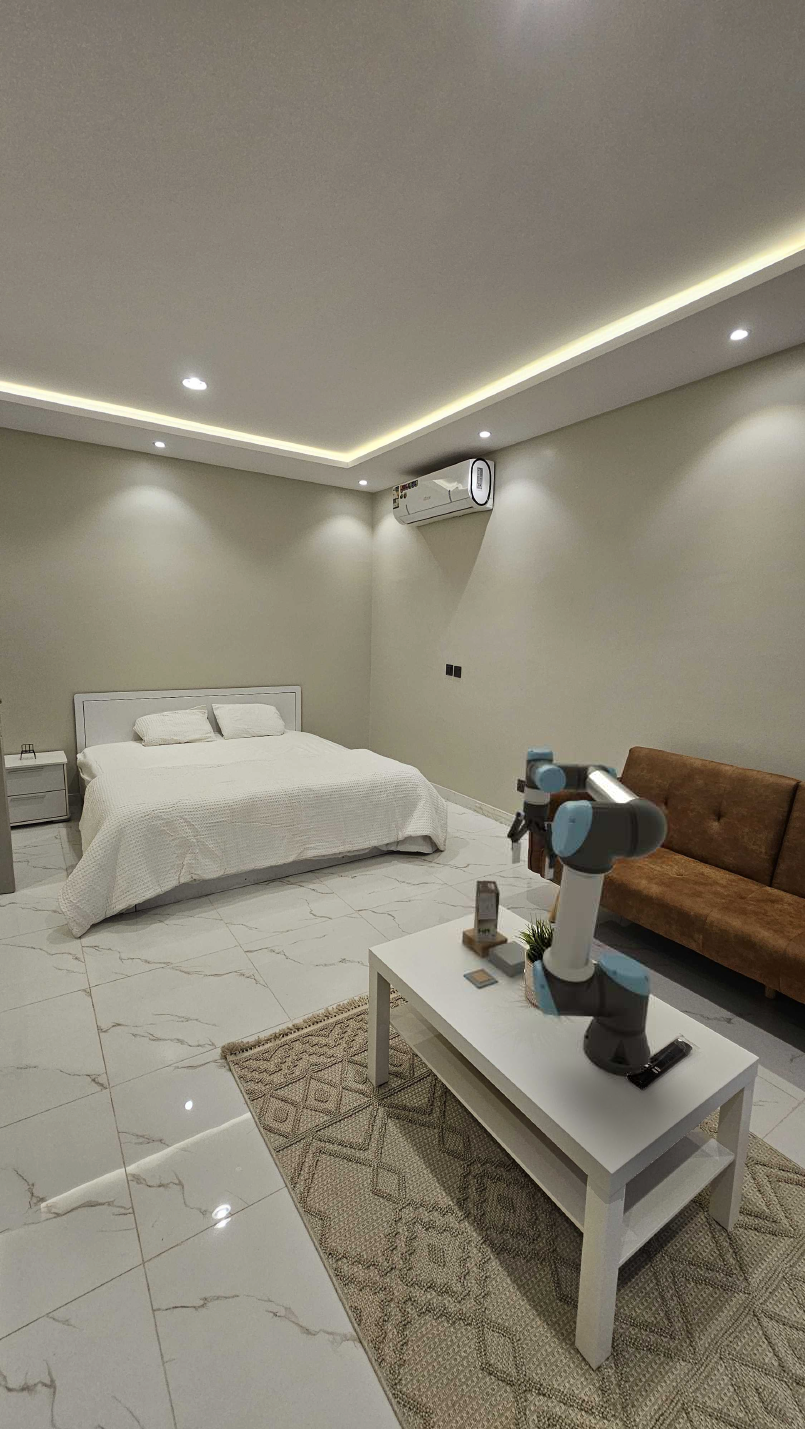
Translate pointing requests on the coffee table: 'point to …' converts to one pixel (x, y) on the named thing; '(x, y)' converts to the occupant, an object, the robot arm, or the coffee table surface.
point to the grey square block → (508, 958)
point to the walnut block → (481, 943)
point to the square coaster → (480, 978)
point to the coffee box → (486, 911)
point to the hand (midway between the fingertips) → (531, 870)
